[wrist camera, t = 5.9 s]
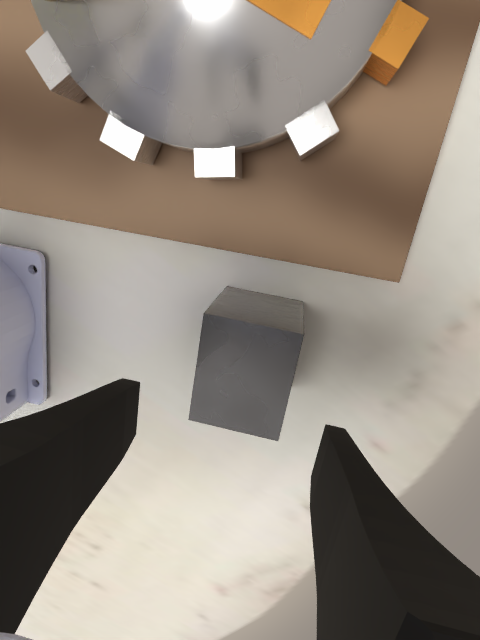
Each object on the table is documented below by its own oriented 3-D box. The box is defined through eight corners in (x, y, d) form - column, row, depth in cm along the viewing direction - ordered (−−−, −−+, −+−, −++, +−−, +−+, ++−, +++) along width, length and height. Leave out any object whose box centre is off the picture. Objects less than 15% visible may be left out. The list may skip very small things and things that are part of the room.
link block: (283, 386, 21) (278, 441, 16) (213, 370, 21) (188, 419, 16) (303, 301, 19) (304, 334, 14) (227, 285, 19) (203, 313, 15)
